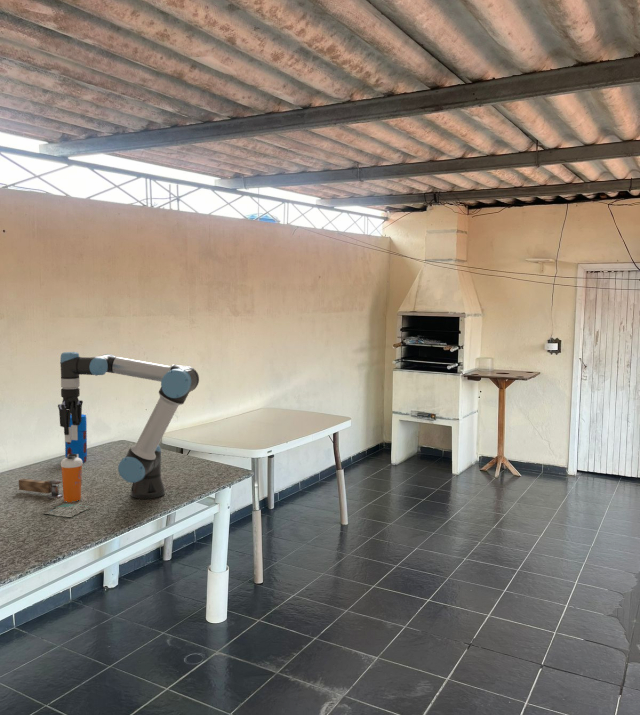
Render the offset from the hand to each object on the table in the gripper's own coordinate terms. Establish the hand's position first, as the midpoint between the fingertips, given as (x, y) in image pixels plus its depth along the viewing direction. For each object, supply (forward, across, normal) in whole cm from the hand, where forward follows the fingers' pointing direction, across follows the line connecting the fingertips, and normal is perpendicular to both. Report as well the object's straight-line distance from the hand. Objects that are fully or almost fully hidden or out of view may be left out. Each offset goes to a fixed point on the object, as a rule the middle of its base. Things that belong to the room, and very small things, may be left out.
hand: (71, 440), depth 278 cm
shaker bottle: (+27, 0, 0) cm, 27 cm away
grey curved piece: (+26, -1, -10) cm, 28 cm away
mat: (+27, +13, +8) cm, 31 cm away
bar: (+25, -1, -18) cm, 31 cm away
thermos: (+27, -54, -41) cm, 73 cm away
